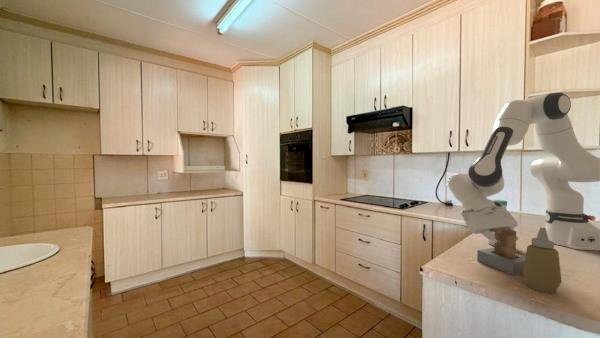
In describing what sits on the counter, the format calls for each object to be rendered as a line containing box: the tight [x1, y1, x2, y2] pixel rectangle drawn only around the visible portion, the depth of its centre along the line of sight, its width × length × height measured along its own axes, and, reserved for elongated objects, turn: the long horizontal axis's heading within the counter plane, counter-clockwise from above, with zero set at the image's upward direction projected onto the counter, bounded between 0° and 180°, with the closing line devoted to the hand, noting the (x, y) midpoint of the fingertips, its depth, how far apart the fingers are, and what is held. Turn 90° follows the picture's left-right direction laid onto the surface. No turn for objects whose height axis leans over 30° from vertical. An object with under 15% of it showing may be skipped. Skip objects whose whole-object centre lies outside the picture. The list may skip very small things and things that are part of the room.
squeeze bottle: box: [522, 227, 562, 294], centre depth 70 cm, size 8×8×18 cm
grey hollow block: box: [476, 247, 526, 276], centre depth 86 cm, size 12×10×4 cm
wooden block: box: [493, 228, 517, 259], centre depth 86 cm, size 5×3×12 cm, turn 16°
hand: (506, 241), depth 85 cm, fingers open, 8 cm apart
